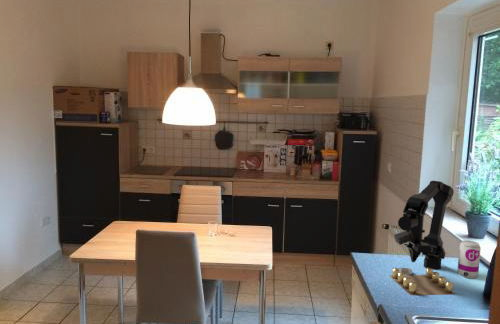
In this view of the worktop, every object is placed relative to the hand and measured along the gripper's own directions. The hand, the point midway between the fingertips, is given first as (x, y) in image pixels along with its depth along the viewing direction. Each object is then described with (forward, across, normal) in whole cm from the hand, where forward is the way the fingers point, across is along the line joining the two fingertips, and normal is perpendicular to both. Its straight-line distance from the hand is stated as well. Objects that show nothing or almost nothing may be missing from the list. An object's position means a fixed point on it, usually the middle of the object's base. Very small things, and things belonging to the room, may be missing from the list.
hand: (413, 262), depth 176 cm
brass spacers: (+7, +7, 0) cm, 10 cm away
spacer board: (+8, +7, 0) cm, 10 cm away
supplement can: (+8, -4, +28) cm, 30 cm away
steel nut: (+8, -6, 0) cm, 10 cm away
